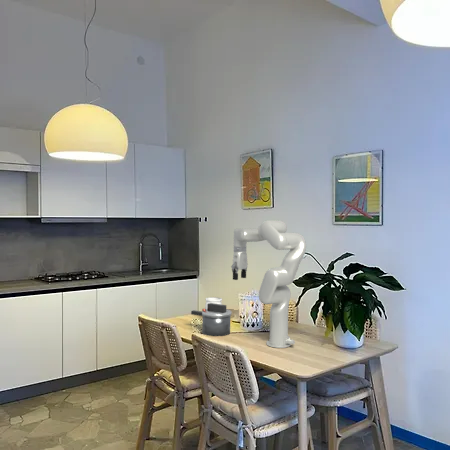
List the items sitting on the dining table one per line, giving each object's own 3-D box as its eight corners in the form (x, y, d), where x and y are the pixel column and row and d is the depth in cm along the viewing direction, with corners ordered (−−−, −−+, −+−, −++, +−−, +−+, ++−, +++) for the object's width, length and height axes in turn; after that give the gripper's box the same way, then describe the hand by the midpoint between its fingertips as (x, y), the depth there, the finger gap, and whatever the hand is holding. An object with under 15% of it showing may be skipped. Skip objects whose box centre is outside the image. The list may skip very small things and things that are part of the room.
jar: (222, 320, 287) (223, 297, 286) (220, 324, 276) (221, 300, 276) (206, 319, 288) (206, 296, 287) (203, 323, 277) (204, 299, 277)
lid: (237, 312, 259) (237, 303, 259) (221, 318, 245) (221, 308, 245) (212, 309, 268) (212, 300, 268) (196, 314, 254) (196, 305, 254)
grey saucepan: (236, 331, 260) (236, 312, 260) (220, 338, 245) (221, 318, 245) (200, 325, 273) (200, 307, 273) (183, 331, 259) (183, 312, 259)
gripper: (238, 250, 253) (237, 281, 253) (252, 249, 267) (252, 277, 268) (226, 250, 257) (226, 279, 257) (241, 248, 271) (241, 276, 272)
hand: (239, 278), depth 262 cm, fingers open, 9 cm apart
